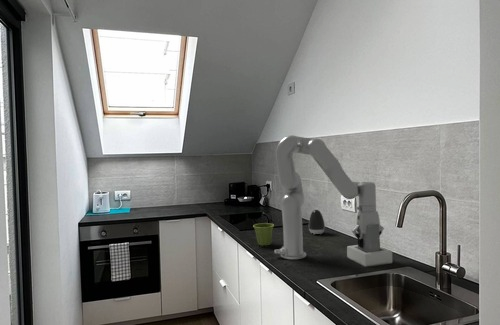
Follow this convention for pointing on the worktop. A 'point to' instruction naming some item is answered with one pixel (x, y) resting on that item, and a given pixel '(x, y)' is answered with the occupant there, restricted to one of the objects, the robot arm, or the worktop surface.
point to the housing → (369, 256)
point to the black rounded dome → (316, 222)
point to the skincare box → (371, 239)
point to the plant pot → (264, 233)
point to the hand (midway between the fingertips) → (368, 245)
